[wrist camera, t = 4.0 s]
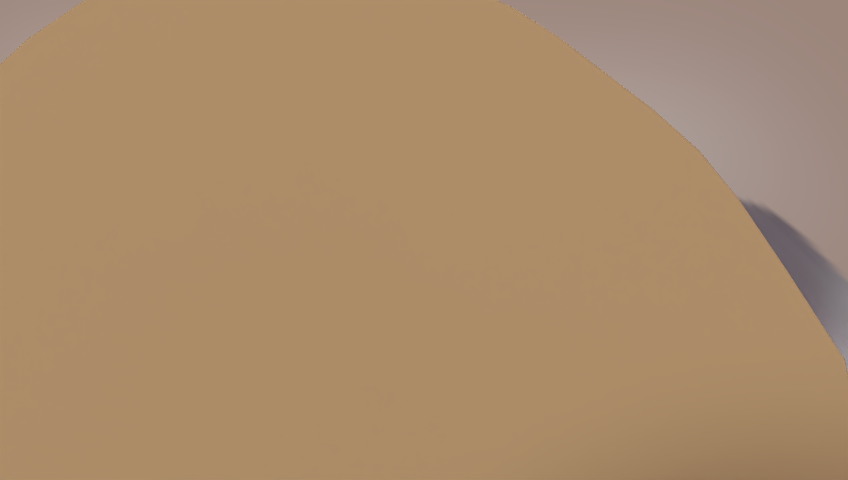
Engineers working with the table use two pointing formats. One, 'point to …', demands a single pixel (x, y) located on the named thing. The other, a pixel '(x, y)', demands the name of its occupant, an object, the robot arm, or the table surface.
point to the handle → (380, 260)
